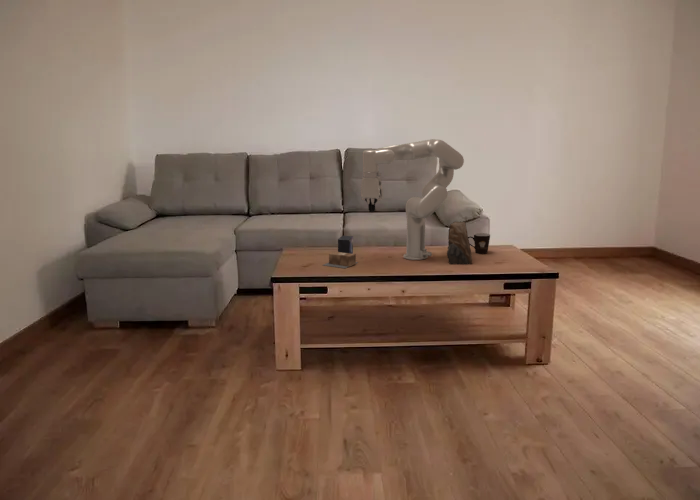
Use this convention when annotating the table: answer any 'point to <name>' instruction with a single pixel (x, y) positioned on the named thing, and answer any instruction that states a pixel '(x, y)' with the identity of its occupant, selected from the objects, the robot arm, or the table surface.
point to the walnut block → (342, 259)
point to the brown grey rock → (458, 244)
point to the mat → (336, 265)
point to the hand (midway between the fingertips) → (371, 211)
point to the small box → (345, 244)
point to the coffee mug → (481, 242)
